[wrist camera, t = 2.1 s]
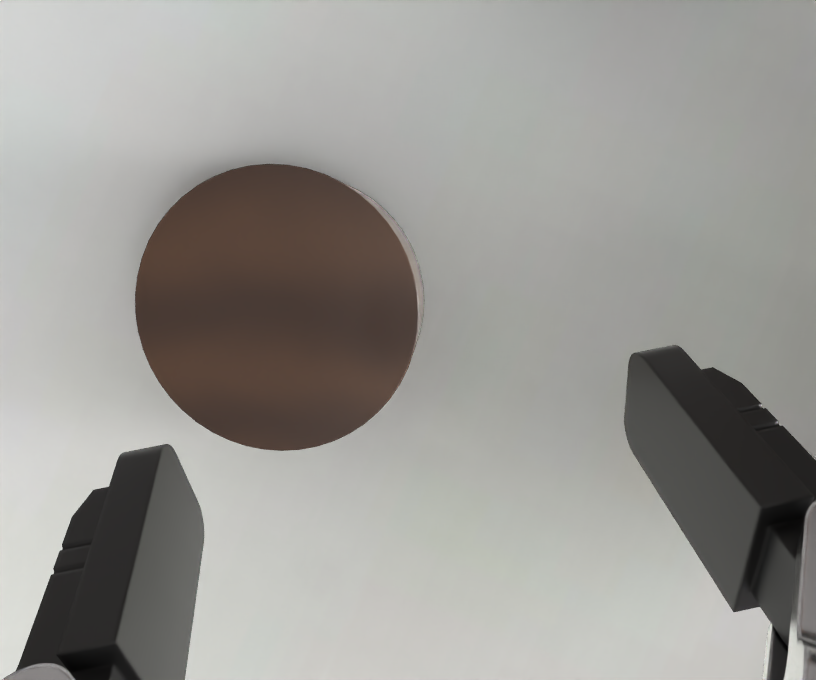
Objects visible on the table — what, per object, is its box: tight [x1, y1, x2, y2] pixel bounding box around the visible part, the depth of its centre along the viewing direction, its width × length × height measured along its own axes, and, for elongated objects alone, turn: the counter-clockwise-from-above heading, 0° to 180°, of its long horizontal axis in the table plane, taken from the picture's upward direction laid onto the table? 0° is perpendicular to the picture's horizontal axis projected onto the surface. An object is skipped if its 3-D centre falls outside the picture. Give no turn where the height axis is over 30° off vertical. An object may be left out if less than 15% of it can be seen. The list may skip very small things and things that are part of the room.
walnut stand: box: [135, 164, 424, 451], centre depth 29 cm, size 12×12×5 cm
